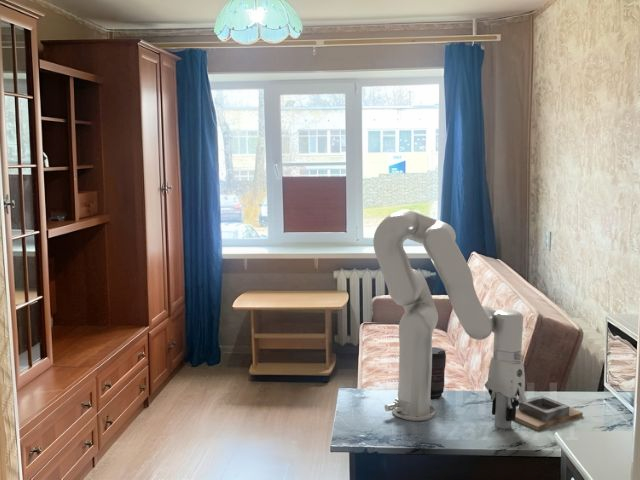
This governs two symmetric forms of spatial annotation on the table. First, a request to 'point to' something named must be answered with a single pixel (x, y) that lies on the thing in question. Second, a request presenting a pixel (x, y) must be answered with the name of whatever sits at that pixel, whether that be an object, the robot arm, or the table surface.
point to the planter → (501, 411)
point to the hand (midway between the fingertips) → (503, 416)
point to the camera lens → (437, 373)
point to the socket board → (544, 413)
